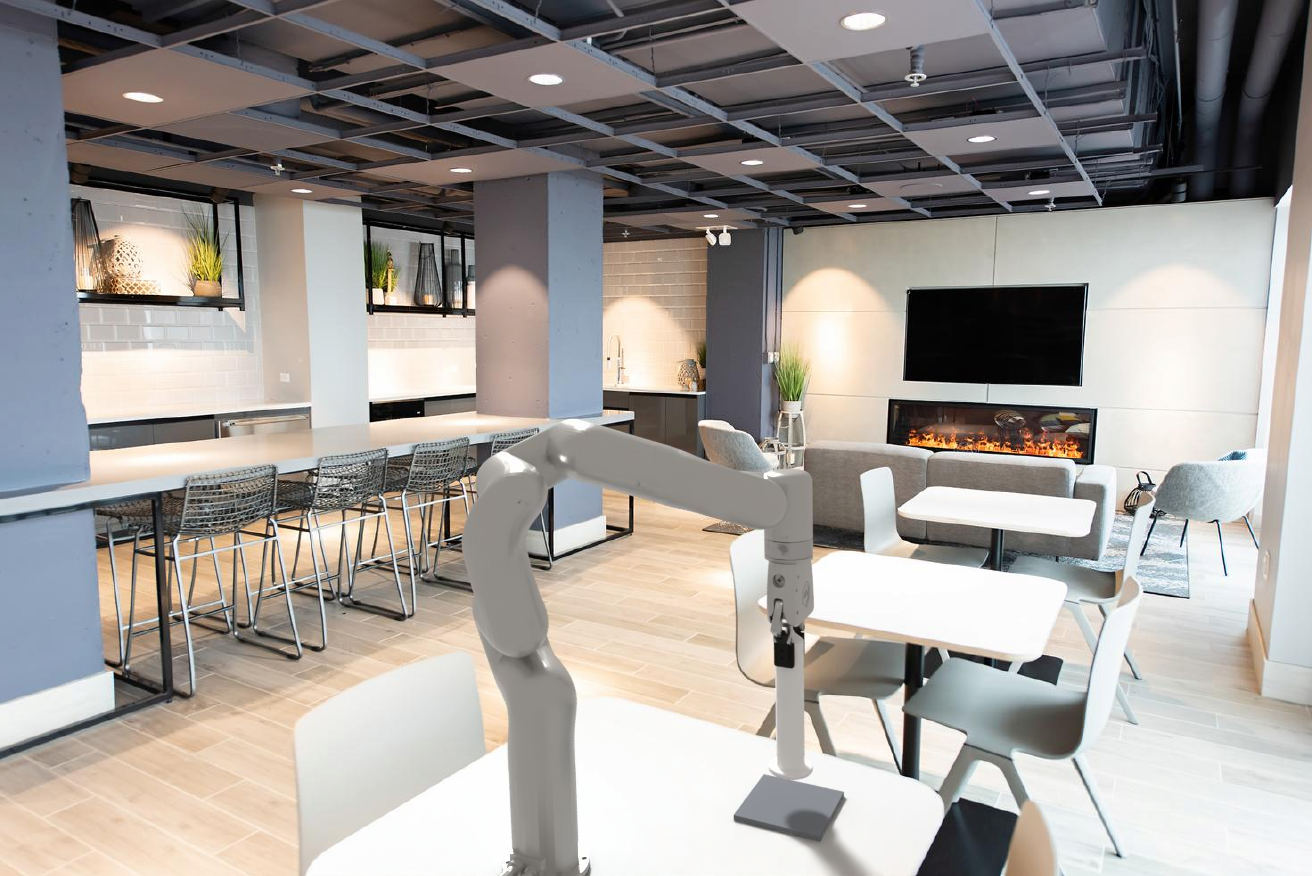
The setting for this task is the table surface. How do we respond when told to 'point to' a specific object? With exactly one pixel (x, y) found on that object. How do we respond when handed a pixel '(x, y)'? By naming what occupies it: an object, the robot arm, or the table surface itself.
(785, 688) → the candle
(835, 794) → the mat
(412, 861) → the table surface
